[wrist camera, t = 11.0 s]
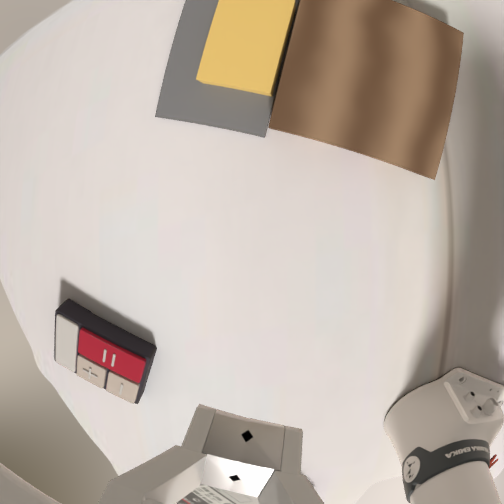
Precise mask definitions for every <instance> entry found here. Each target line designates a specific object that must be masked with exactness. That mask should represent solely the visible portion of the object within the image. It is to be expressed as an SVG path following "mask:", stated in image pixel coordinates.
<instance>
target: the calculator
mask: <svg viewBox="0 0 504 504" xmlns="http://www.w3.org/2000/svg"><path fill="white" fill-rule="evenodd" d="M156 350H157V348H156V346H154V345H153V344H151V343H149V342H147V341H145V340H143V339H141V338H139V337H137V336H135V335H133V334H131V333H129V332H127V331H125V330H123V329H121V328H119V327H117V326H115V325H113V324H111V323H109V322H107V321H105V320H103V319H101V318H100V317H98V316H96V315H94V314H92V313H91V311H89V310H87V309H86V308H84V307H82V306H81V305H79V304H77V303H75V302H74V301H72V300H70V299H67V300H66V301H65V302H64V303H63V304H62V305H61V306H60V307H59V308H58V309H57V310H56V313H55V348H54V355H55V361H56V362H57V363H59V364H60V365H62V366H64V367H65V368H67V369H69V370H70V371H72V372H74V373H76V374H77V375H78V376H79V377H81V378H83V379H85V380H87V381H88V382H90V383H92V384H94V385H96V386H98V387H100V388H104V389H106V391H108V392H110V393H112V394H114V395H116V396H118V397H120V398H122V399H124V400H126V401H128V402H130V403H133V404H134V403H135V404H138V403H139V401H140V398H141V396H142V394H143V392H144V389H145V386H146V382H147V379H148V376H149V372H150V369H151V366H152V363H153V359H154V356H155V353H156Z"/></svg>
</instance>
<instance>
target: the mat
mask: <svg viewBox="0 0 504 504" xmlns="http://www.w3.org/2000/svg"><path fill="white" fill-rule="evenodd" d="M218 2H219V0H186V1H185V4H184V7H183V10H182V14H181V17H180V20H179V23H178V27H177V30H176V34H175V37H174V41H173V44H172V48H171V51H170V55H169V59H168V63H167V67H166V71H165V75H164V79H163V83H162V87H161V92H160V96H159V101H158V105H157V110H156V115H155V117H160V118H166V119H173V120H179V121H185V122H191V123H197V124H202V125H208V126H213V127H218V128H223V129H228V130H233V131H238V132H242V133H247V134H252V135H256V136H260V137H265V135H266V131H267V127H268V123H269V119H270V115H271V110H272V106H273V102H274V98H275V94H276V90H277V86H278V82H279V78H280V74H281V70H282V66H283V62H284V58H285V54H286V50H287V46H288V42H289V38H290V34H291V31H292V27H293V23H294V19H295V15H296V11H297V7H298V3H299V0H295V6H296V10H295V13H294V17H293V21H292V24H291V28H290V32H289V35H288V39H287V43H286V47H285V50H284V54H283V58H282V62H281V65H280V69H279V73H278V77H277V81H276V84H275V88H274V92H273V96H272V97H271V96H266V95H262V94H257V93H253V92H248V91H243V90H238V89H233V88H227V87H222V86H216V85H210V84H204V83H202V82H200V81H198V80H196V77H197V73H198V69H199V66H200V62H201V58H202V55H203V51H204V47H205V44H206V40H207V37H208V34H209V30H210V27H211V24H212V20H213V17H214V14H215V11H216V8H217V5H218Z"/></svg>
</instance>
